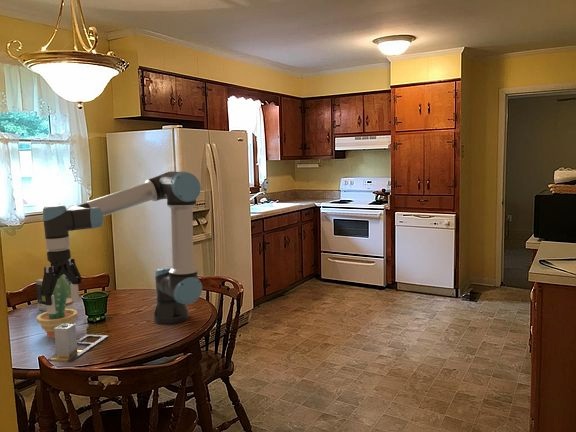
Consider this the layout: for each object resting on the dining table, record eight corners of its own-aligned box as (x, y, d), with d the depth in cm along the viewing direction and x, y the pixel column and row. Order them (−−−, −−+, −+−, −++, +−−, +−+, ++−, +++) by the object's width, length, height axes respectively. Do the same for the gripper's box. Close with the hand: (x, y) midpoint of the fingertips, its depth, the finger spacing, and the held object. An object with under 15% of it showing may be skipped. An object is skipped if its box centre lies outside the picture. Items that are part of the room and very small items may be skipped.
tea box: (75, 308, 232) (73, 278, 230) (55, 314, 224) (53, 283, 222) (57, 304, 240) (54, 275, 238) (37, 309, 232) (34, 279, 230)
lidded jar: (65, 322, 213) (63, 301, 212) (44, 321, 215) (42, 300, 214) (80, 314, 223) (79, 294, 222) (59, 313, 225) (58, 293, 224)
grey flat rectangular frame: (108, 336, 194) (108, 335, 194) (71, 361, 171) (71, 360, 171) (86, 335, 196) (86, 334, 196) (47, 360, 173) (47, 359, 173)
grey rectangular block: (77, 353, 178) (75, 323, 177) (69, 358, 173) (66, 328, 172) (65, 352, 179) (62, 322, 178) (56, 357, 174) (53, 327, 173)
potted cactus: (82, 334, 197) (77, 274, 194) (40, 343, 189) (34, 280, 186) (75, 324, 210) (71, 267, 207) (35, 331, 202) (30, 273, 199)
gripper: (70, 242, 184) (75, 296, 187) (23, 256, 160) (30, 319, 163) (88, 242, 183) (93, 297, 186) (44, 257, 158) (50, 319, 161)
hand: (64, 307), depth 174 cm, fingers open, 13 cm apart
